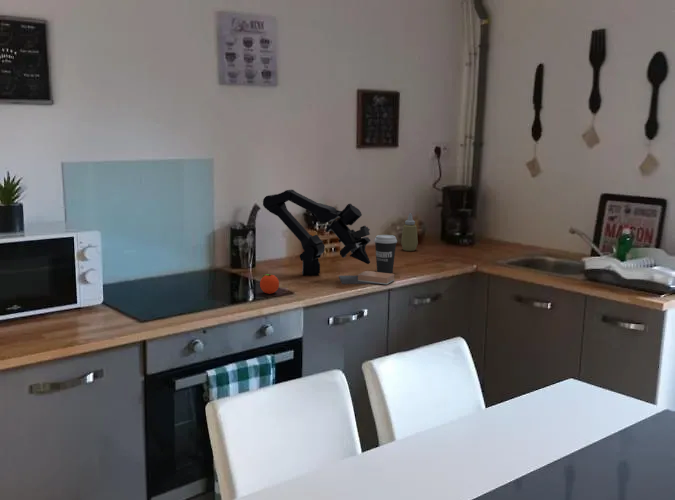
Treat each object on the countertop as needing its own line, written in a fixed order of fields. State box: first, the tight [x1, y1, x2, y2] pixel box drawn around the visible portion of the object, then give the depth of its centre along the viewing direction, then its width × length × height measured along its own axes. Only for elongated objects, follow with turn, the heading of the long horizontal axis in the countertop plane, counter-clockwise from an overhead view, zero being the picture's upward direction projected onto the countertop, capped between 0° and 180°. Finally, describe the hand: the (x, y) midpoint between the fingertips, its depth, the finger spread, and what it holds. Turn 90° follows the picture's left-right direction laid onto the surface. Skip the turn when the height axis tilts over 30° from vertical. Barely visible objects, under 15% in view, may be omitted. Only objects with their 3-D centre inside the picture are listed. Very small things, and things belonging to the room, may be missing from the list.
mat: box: [338, 274, 379, 285], centre depth 275 cm, size 14×12×1 cm
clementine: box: [259, 273, 280, 295], centre depth 252 cm, size 8×7×7 cm
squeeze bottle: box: [400, 212, 419, 252], centre depth 337 cm, size 8×8×18 cm
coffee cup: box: [373, 234, 398, 274], centre depth 288 cm, size 10×10×15 cm
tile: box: [357, 270, 395, 285], centre depth 272 cm, size 2×8×12 cm
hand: (369, 263), depth 272 cm, fingers closed
